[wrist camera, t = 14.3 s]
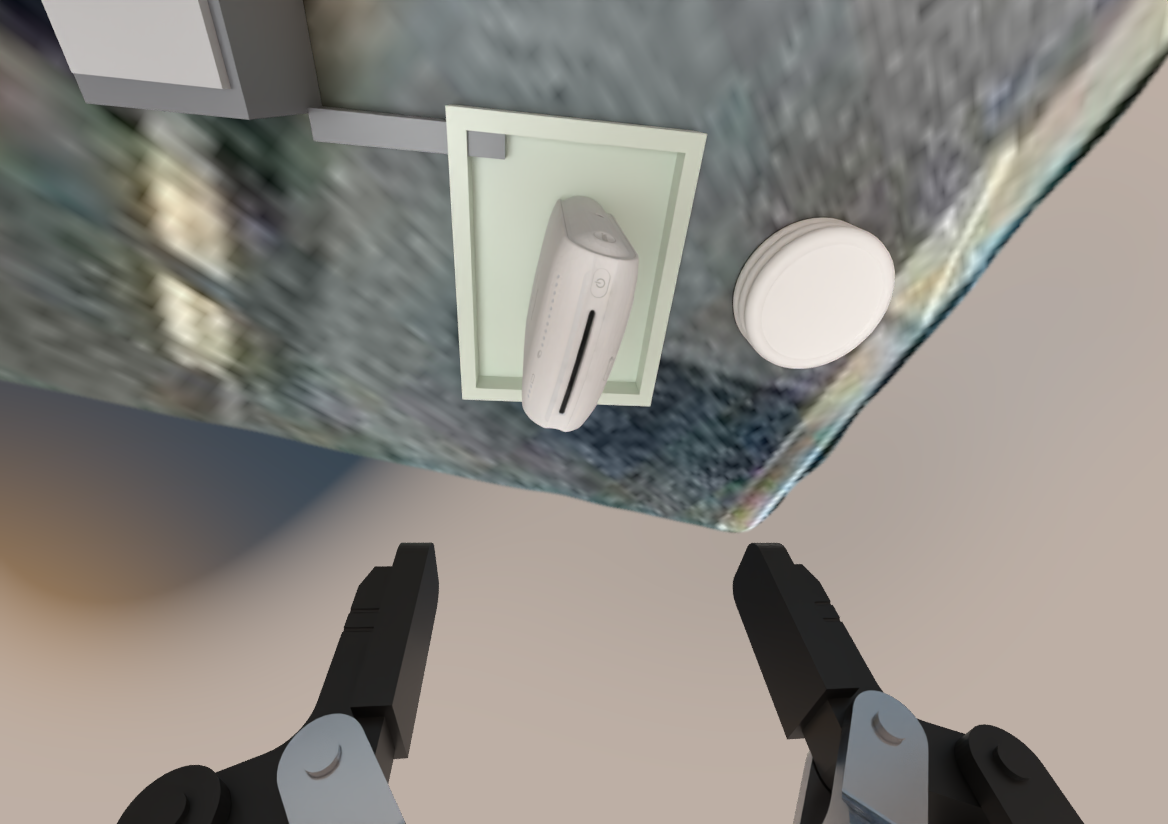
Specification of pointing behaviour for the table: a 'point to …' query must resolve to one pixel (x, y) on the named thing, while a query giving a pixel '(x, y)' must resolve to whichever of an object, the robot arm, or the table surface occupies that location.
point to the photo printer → (576, 313)
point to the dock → (225, 68)
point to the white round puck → (813, 292)
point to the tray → (519, 221)
